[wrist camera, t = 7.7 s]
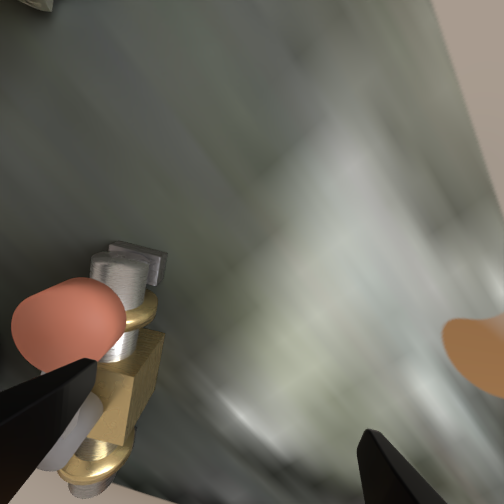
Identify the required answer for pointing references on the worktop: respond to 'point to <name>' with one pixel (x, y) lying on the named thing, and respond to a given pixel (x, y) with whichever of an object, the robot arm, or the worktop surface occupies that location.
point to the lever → (69, 344)
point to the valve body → (121, 367)
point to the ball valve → (39, 4)
